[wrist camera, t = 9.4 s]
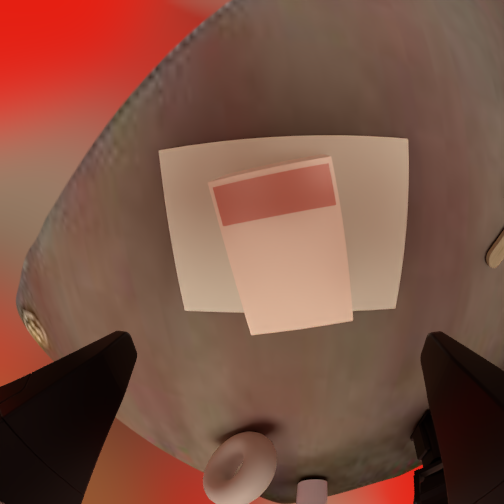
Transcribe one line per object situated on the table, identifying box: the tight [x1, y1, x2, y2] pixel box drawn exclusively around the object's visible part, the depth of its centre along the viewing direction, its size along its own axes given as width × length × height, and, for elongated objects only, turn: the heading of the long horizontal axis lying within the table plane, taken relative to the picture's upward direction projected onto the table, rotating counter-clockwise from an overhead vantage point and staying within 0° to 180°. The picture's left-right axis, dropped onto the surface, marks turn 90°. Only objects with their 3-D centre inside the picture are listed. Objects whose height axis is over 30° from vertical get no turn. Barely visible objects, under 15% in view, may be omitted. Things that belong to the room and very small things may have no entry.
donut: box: [203, 431, 277, 504], centre depth 23 cm, size 10×4×10 cm, turn 137°
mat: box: [159, 135, 409, 312], centre depth 18 cm, size 16×12×1 cm
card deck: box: [208, 154, 353, 335], centre depth 16 cm, size 9×6×4 cm, turn 14°
